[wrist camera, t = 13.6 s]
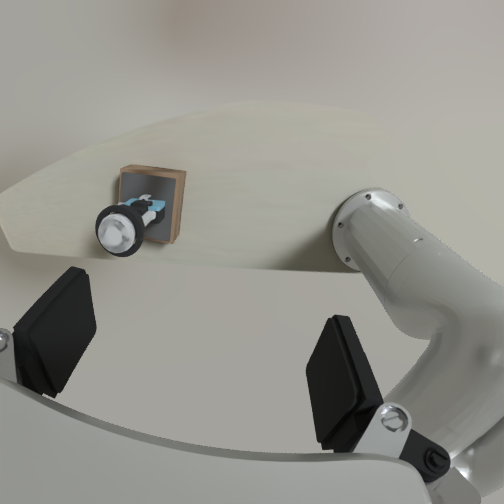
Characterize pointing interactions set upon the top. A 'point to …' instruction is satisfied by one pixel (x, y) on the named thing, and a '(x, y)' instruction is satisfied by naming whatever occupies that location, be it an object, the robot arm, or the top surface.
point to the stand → (156, 196)
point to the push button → (127, 224)
